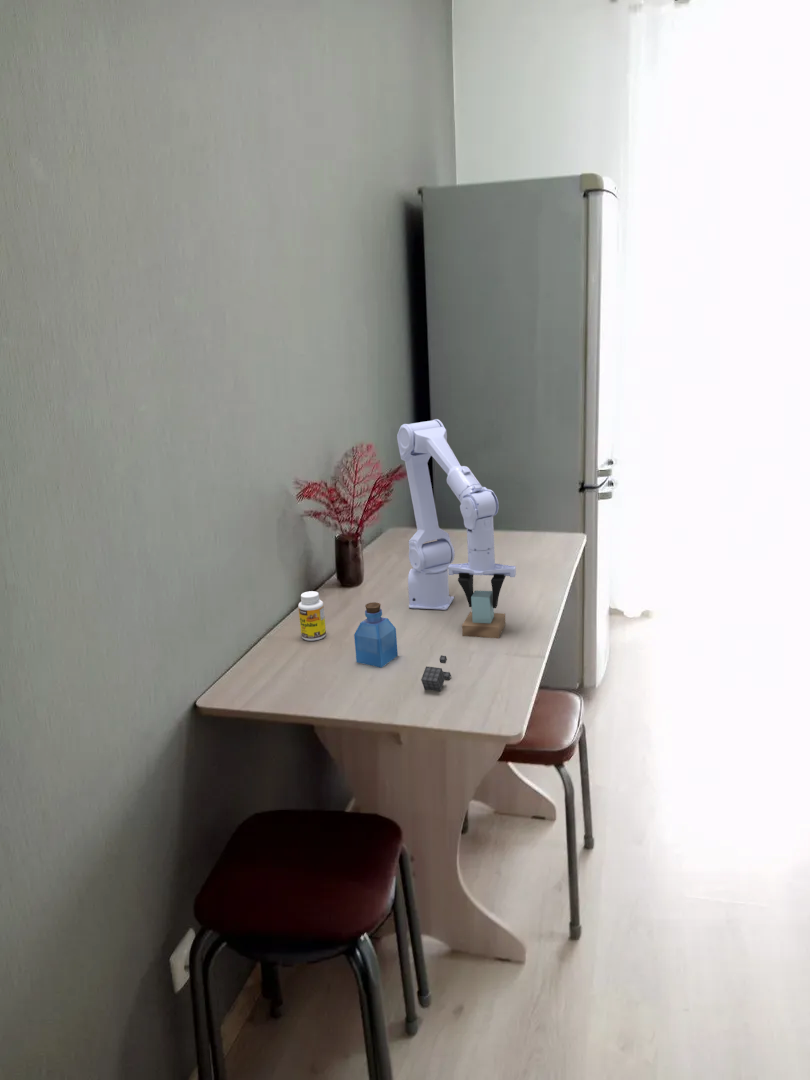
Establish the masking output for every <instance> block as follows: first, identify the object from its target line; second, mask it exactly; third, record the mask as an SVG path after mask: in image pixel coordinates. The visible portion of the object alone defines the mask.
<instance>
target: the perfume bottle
mask: <svg viewBox="0 0 810 1080" xmlns="http://www.w3.org/2000/svg"><path fill="white" fill-rule="evenodd" d="M381 605H382V604H381V603H380V602H375V601H373V602H368V603H366V604H365V606H364V607H365V611H364V615H365V617H366V618H365V619H364V620H362V621H361V622H359V625H358V626H357V629H356V630H355V633H354V634H353V637H354V649H355V658H356V660H355V661H356V663H359V664H363V665H368V666H372V667H376V668H381V669H382V668H383V667H385V666H386V665H387V664H389V663H390V662H391V661H393V660H394V659H396V658H397V657H398V656H399V655H398V640H397V639H398V638H397V629H396V626H395V625H393V623H392V622H391V621H390V619H389V618H387V617H382V615H383V610H382V608H381Z"/></svg>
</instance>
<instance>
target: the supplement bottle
mask: <svg viewBox="0 0 810 1080" xmlns="http://www.w3.org/2000/svg"><path fill="white" fill-rule="evenodd" d="M300 600H301V601H300V602H299V603H298V605H297V606H298V617H299V625H300V634H301V635H300V636H301V638H302V639H303V640H305V641H309V642H313V641H319V640H321V639H323V638H325V637H326V635H327V629H326V628H327V627H326V617H325V607H324V601H322V600H321V599H320V594H319V592H318V591H313V590H311V591H310V590H309V591H305V592H302V593H301V595H300Z"/></svg>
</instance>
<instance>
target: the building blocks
mask: <svg viewBox="0 0 810 1080" xmlns="http://www.w3.org/2000/svg"><path fill="white" fill-rule="evenodd" d="M447 658H448V657H447V655H443V654H442V655H440V656H439V662H440V664H446V663H447V660H448V659H447ZM451 678H452V675H451V672H450V671H443V668H442V667H434V666H427V665H425V668H424V670H423V673H422V676H421V678H420V681H421V684H422V685H423V689H424V690H425V691H433V692H441V691H442V688H443V686H444V682H445V680H451Z"/></svg>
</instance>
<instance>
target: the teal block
mask: <svg viewBox="0 0 810 1080" xmlns="http://www.w3.org/2000/svg"><path fill="white" fill-rule="evenodd" d="M492 601H493V593H492V590H473V595H472V596H471V604H472V607H471V612H472V620H473V623H491V622H492V620H493V618H494V613H495V608H493V605H492Z"/></svg>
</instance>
